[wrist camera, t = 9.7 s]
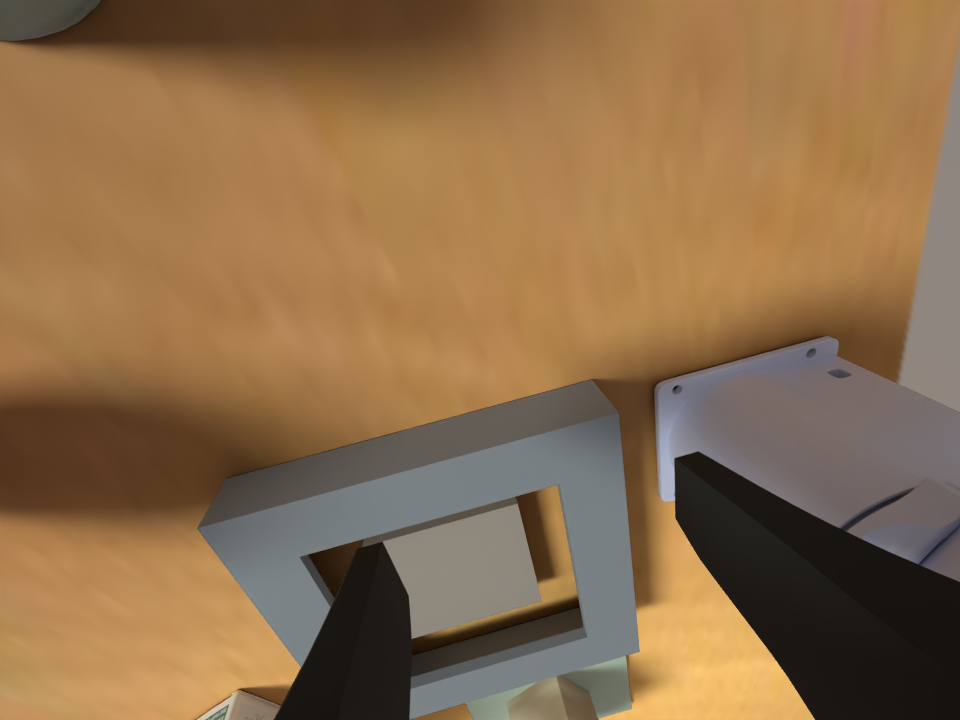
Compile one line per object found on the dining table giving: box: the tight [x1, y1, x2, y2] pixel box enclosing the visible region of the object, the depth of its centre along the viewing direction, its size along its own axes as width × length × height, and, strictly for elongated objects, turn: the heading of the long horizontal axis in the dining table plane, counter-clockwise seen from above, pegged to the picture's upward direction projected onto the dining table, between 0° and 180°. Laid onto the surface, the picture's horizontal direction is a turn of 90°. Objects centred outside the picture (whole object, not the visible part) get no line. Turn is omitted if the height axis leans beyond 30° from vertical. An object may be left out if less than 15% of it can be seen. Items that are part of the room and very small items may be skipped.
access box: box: [197, 380, 640, 720], centre depth 23 cm, size 18×18×3 cm
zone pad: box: [466, 656, 632, 720], centre depth 32 cm, size 12×10×1 cm
